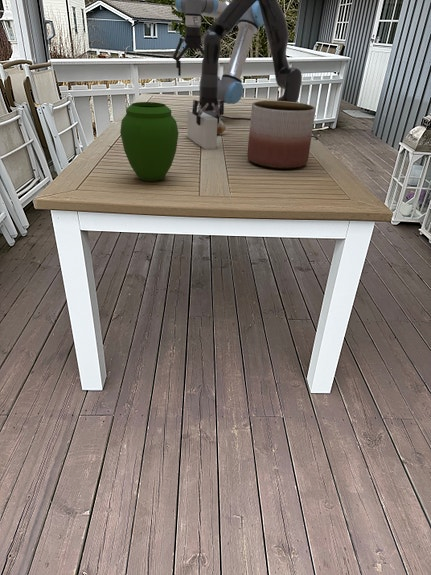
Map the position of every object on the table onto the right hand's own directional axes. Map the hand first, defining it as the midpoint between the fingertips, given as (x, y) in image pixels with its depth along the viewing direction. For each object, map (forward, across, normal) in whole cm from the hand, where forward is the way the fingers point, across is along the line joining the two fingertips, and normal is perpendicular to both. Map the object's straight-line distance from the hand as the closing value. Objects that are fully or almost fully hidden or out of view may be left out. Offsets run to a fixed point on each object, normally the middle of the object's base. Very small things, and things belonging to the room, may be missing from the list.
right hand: (207, 124), depth 186 cm
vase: (+10, -37, -41) cm, 56 cm away
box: (+10, 0, +8) cm, 12 cm away
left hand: (-16, +6, +38) cm, 42 cm away
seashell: (+9, +14, +23) cm, 29 cm away
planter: (+9, +19, -32) cm, 38 cm away
